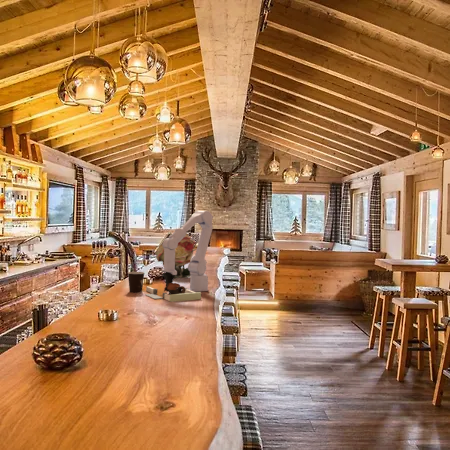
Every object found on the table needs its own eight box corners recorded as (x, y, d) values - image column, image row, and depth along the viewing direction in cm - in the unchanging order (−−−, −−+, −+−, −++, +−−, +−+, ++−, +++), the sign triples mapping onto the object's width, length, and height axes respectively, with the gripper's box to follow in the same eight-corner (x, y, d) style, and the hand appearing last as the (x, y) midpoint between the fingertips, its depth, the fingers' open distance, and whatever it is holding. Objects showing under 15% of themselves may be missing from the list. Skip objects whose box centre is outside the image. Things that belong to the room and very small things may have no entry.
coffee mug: (135, 293, 230) (135, 274, 229) (124, 291, 235) (124, 272, 234) (151, 290, 239) (152, 272, 238) (140, 288, 244) (141, 270, 244)
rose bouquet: (152, 273, 305) (153, 230, 305) (193, 272, 314) (194, 230, 314) (158, 279, 281) (159, 231, 280) (203, 278, 290) (204, 232, 289)
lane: (178, 288, 248) (178, 282, 248) (205, 298, 222) (205, 292, 221) (137, 291, 236) (137, 285, 236) (161, 302, 209) (161, 295, 209)
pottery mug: (160, 299, 219) (160, 283, 223) (169, 304, 227) (169, 289, 231) (181, 295, 215) (181, 279, 219) (190, 301, 223) (190, 285, 227)
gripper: (156, 259, 237) (156, 285, 237) (168, 262, 224) (167, 289, 225) (168, 259, 241) (168, 284, 241) (180, 262, 228) (180, 288, 229)
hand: (168, 286), depth 233 cm, fingers closed
